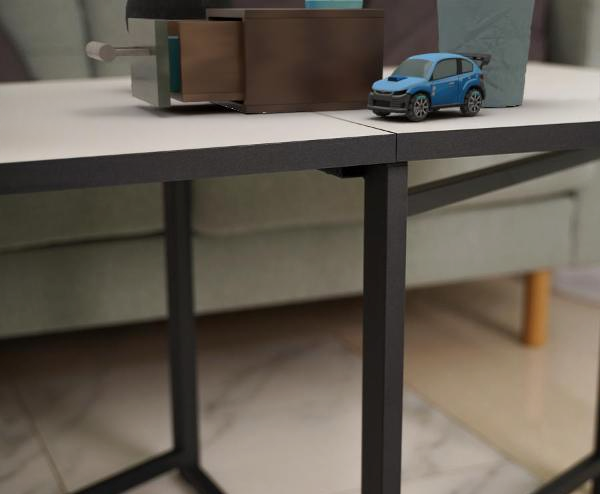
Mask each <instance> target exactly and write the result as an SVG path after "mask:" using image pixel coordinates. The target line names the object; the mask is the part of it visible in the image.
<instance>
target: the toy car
mask: <svg viewBox="0 0 600 494" xmlns="http://www.w3.org/2000/svg"><path fill="white" fill-rule="evenodd" d="M466 57H473V58H466ZM477 57H478V58H481V59H477ZM472 60H478V61H482V63H481V65H480V66H479V67H478V66H477V65H476V64H475V63H474V62H473V61H472ZM490 60H491V55H490V54H478V53H452V54H450V53H439V52H434V53H433V52H432V53H424V54H416V55H413V56H412V55H411V56H410V57H408V58H407V59H405V60H404V61H402V62H401V64H399V65H398V66H397V67H396V68H395V69H394V70H393V72H392V73H391V74H390V75H389V76H387V77H385V78H383V79H382V80H379V81H377V82H375V83H374V84H373V86H372V89H371V93H370V94H369V95H368V105H367V109H366V110H367V111H372V113H373V114H374V115H376V116H377V117H382V118H384V117H388V116H390V115H391V114H405V117H406V118H407V119H408V120H409V121H413V122H421V121H423V120H424V119H426V117H427V115H428V114H429V112H438V111H440V110H444V109H454V108H459V110H460V112H461V114H463V116H467V117H468V116H469V117H473V116H476V115H477V114H478V113H479V112H480V111H481V106H482V100H485V98H486V87H485V84H484V79H483V72H482V67H483V66H484V65H488V63H489V62H490Z"/></svg>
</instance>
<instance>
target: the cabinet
mask: <svg viewBox="0 0 600 494" xmlns="http://www.w3.org/2000/svg"><path fill="white" fill-rule="evenodd" d="M385 15H386V10H385V8H362V9H306V8H235V9H206V20H242V24H243V79H244V100H235V101H209V103H211V102H212V103H211V104H214V103H216V104H215V105H217V104H219V105H218V106H220V105H223V106H227V107H229V108H233V109H235V110H234V111H236V110H239V111H241V112H240V113H242V112H244V113H243V114H245V113H263V112H285V113H294V112H293V111H307V112H323V111H324V112H327V111H345V110H346V111H347V110H351V111H352V110H368V109H367V105H368V95H369V94H370V93H371V89H372V86H373V84H374V83H375V82H377V81H379V80H382V79H384V51H385V50H384V48H385V18H386V16H385ZM223 106H222V107H223ZM229 108H228V109H229ZM239 111H238V112H239ZM263 114H264V113H263Z"/></svg>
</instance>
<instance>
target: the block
mask: <svg viewBox="0 0 600 494" xmlns="http://www.w3.org/2000/svg"><path fill="white" fill-rule="evenodd" d="M168 47H169V71H170V92H180V73H179V47H178V36H168Z"/></svg>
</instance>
